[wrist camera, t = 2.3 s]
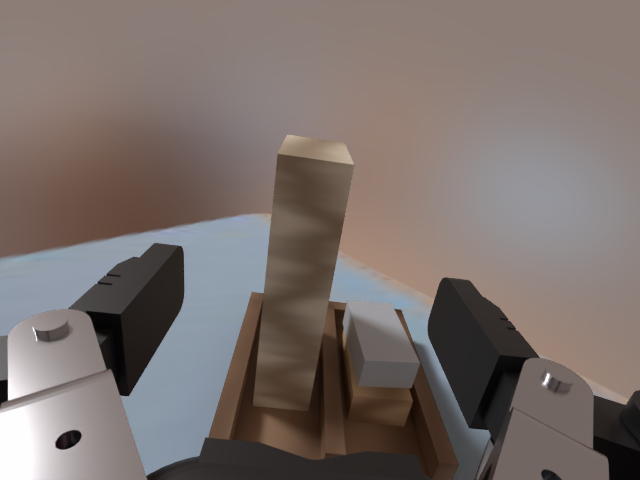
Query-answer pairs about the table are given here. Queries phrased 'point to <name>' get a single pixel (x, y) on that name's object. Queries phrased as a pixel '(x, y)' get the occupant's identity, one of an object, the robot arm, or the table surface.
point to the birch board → (300, 267)
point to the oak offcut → (372, 397)
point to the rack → (327, 407)
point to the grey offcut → (379, 346)
